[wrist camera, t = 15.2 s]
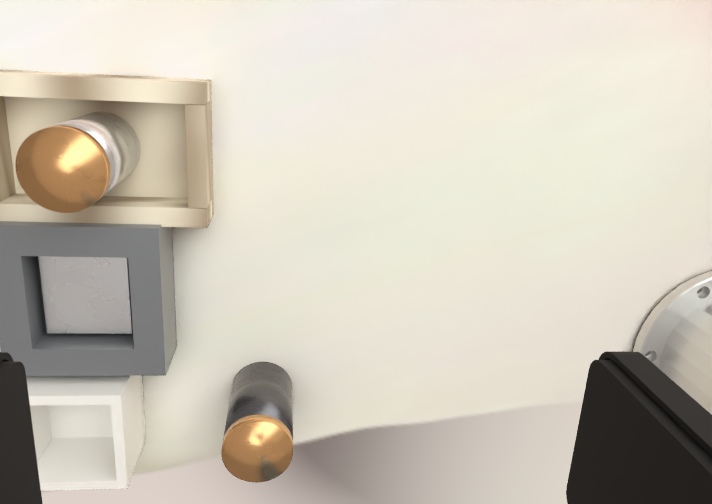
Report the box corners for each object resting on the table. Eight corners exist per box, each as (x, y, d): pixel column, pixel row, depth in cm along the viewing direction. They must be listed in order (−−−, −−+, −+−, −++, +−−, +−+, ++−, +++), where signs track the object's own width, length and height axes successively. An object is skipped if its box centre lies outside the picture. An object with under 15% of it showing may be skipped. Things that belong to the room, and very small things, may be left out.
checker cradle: (171, 210, 37) (158, 228, 34) (176, 345, 40) (165, 375, 37) (13, 207, 36) (-17, 224, 33) (30, 345, 39) (4, 376, 36)
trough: (210, 79, 35) (203, 82, 32) (213, 214, 38) (207, 228, 35) (-14, 69, 34) (-41, 71, 31) (4, 209, 36) (-20, 223, 33)
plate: (130, 252, 36) (126, 257, 35) (135, 327, 38) (131, 333, 37) (43, 251, 36) (38, 255, 35) (52, 327, 37) (47, 333, 36)
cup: (140, 354, 40) (120, 395, 35) (146, 438, 42) (127, 488, 37) (36, 354, 39) (2, 396, 35) (46, 440, 41) (15, 491, 37)
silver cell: (138, 112, 35) (103, 129, 28) (142, 182, 36) (109, 214, 29) (63, 109, 34) (10, 125, 28) (70, 180, 36) (20, 212, 29)
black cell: (292, 361, 41) (293, 422, 35) (291, 413, 43) (292, 481, 36) (231, 362, 41) (220, 422, 34) (232, 414, 42) (221, 483, 36)
